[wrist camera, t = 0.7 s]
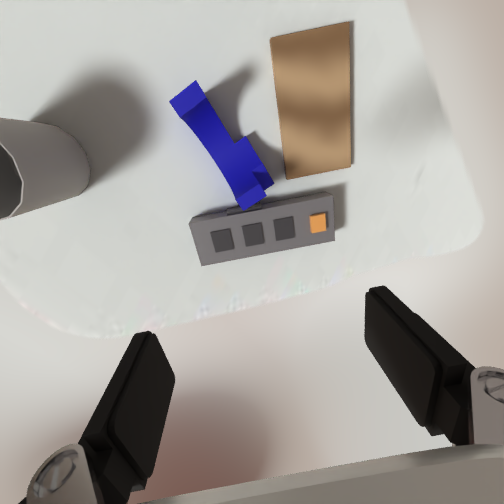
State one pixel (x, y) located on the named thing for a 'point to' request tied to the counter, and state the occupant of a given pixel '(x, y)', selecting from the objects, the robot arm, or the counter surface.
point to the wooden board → (313, 99)
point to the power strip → (264, 228)
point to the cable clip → (224, 147)
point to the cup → (38, 166)
